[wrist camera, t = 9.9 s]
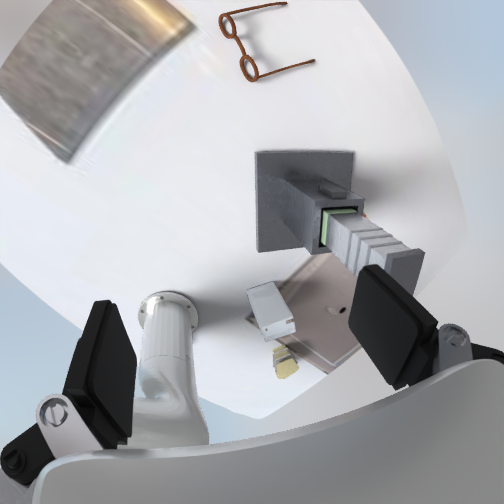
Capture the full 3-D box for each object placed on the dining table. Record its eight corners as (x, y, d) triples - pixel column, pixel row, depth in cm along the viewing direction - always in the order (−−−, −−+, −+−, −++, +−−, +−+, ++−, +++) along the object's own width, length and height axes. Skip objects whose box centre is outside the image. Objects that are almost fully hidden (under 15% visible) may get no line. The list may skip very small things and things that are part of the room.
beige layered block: (257, 349, 66) (263, 365, 61) (291, 334, 66) (299, 350, 61) (270, 370, 71) (275, 385, 66) (300, 357, 71) (307, 372, 66)
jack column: (332, 228, 46) (411, 300, 27) (306, 231, 45) (379, 309, 26) (335, 194, 43) (425, 252, 25) (308, 195, 42) (392, 258, 24)
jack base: (341, 239, 56) (377, 271, 44) (256, 249, 53) (277, 289, 41) (348, 152, 48) (393, 166, 36) (254, 152, 45) (279, 164, 33)
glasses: (215, 21, 33) (219, 11, 29) (285, 2, 33) (295, -8, 29) (247, 84, 40) (254, 80, 35) (315, 62, 39) (328, 57, 35)
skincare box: (250, 304, 58) (264, 344, 48) (245, 288, 56) (259, 328, 46) (278, 295, 59) (297, 333, 48) (274, 278, 57) (293, 316, 46)
